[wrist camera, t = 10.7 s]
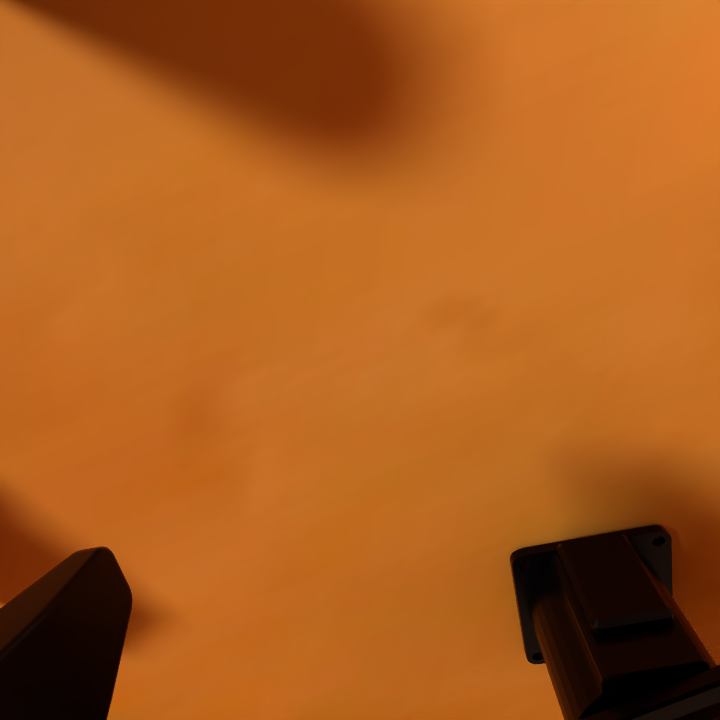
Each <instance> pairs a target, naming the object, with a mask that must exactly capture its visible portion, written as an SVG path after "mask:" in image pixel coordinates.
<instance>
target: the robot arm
mask: <svg viewBox="0 0 720 720" xmlns="http://www.w3.org/2000/svg"><path fill="white" fill-rule="evenodd" d="M656 537H659V538H657V539H655V538H656ZM654 539H655V540H654ZM523 560H526V561H525V562H523V563H519V562H520V561H523ZM510 564H511V570H512V576H513V582H514V588H515V595H516V601H517V607H518V613H519V619H520V625H521V632H522V638H523V644H524V650H525V654H526V657H527V660H528V661H529V662H530V663H532V664H543V663H546V666H547V669H548V672H549V675H550V678H551V681H552V684H553V687H554V690H555V693H556V696H557V699H558V702H559V705H560V708H561V711H562V714H563V717H564V720H720V665H716V664H715V662H714V660H713V659H712V657H711V656H710V654H709V653H708V651H707V650H706V648H705V646H704V645H703V643H702V642H701V640H700V639H699V637H698V636H697V634H696V632H695V631H694V629H693V628H692V626H691V625H690V623H689V622H688V620H687V619H686V617H685V615H684V614H683V612H682V611H681V609H680V608H679V606H678V605H677V603H676V601H675V600H674V598H673V597H672V548H671V536H670V535H669V533H668V532H667V531H666V529H665V528H664V527H662V526H659V525H653V526H647V527H642V528H636V529H630V530H625V531H619V532H614V533H608V534H602V535H597V536H591V537H585V538H580V539H574V540H568V541H563V542H557V543H551V544H546V545H540V546H534V547H529V548H523V549H519V550H516V551H515V552H513V553H512V555H511V556H510ZM131 609H132V594H131V590H130V587H129V585H128V583H127V581H126V579H125V577H124V575H123V573H122V571H121V569H120V566H119V564H118V562H117V560H116V558H115V556H114V554H113V553H112V551H111V550H110V549H108V548H107V547H96V548H90V549H84V550H80V551H77V552H75V553H73V554H72V555H70V556H69V557H68V558H66V559H65V560H64V561H63V562H61V563H60V564H59V565H57V566H56V567H55V568H53V569H52V570H51V571H49V572H48V573H47V574H45V575H44V576H43V577H41V578H40V579H39V580H37V581H36V582H35V583H33V584H32V585H31V586H29V587H28V588H27V589H25V590H24V591H23V592H22V593H20V594H19V595H18V596H16V597H15V598H14V599H12V600H11V601H10V602H8V603H7V604H6V605H4V606H3V607H2V608H0V720H107V716H108V712H109V708H110V704H111V700H112V696H113V691H114V687H115V682H116V678H117V673H118V669H119V664H120V660H121V655H122V650H123V646H124V641H125V637H126V632H127V628H128V623H129V619H130V614H131Z"/></svg>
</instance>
